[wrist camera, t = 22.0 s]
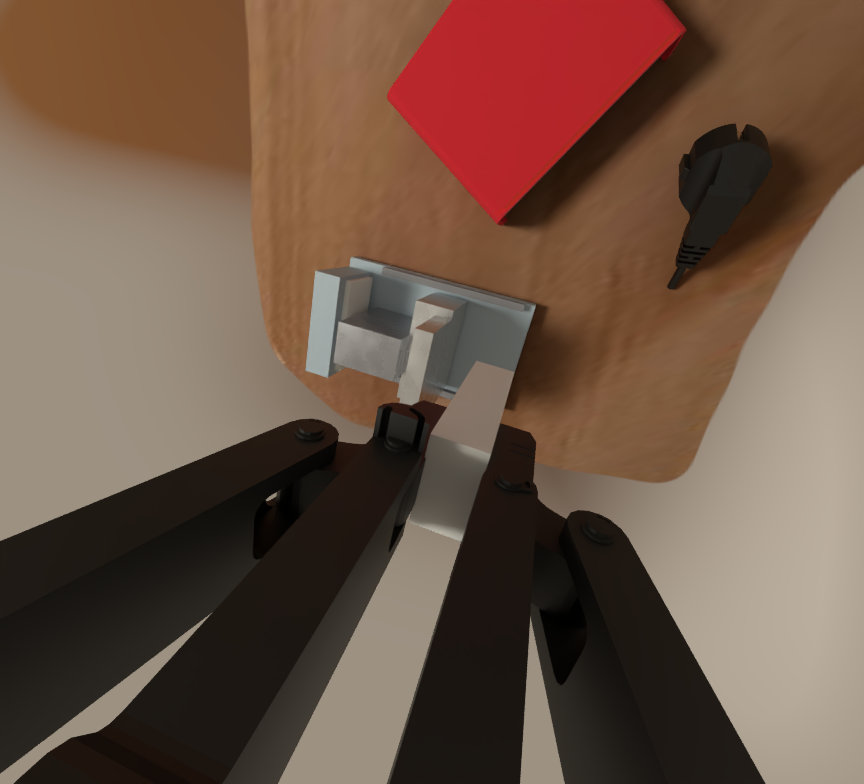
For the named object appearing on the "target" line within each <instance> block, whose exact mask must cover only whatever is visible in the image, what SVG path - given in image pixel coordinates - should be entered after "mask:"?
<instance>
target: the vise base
mask: <svg viewBox="0 0 864 784" xmlns="http://www.w3.org/2000/svg"><path fill="white" fill-rule="evenodd" d="M434 292H436V293H440V294H444V295H448V296H451V297H455V298H459V299H462V300H466V301H468V302H467V306H466V310H465V314H464V318H463V322H462V326H461V330H460V334H459V338H458V342H457V346H456V350H455V354H454V358H453V362H452V366H451V370H450V374H449V378H448V382H447V385H446V387H445V389H444V390H443V391H442V393H441V394H440V396H441V397H444V398H447V399H451V400H452V399H453V397H454V396H455V394H456V392H457V391H458V389H459V388H460V386H461V385H462V383H463V381H464V380H465V378H466V377H467V375H468V373H469V372H470V370H471V369H472V367H473V366H474V364H475V362H476V361H479V362H482V363H486V364H489V365H493V366H496V367H499V368H503V369H506V370H510V371H513V372H514V373H515V370H516V367H517V363H518V360H519V357H520V354H521V351H522V348H523V345H524V342H525V338H526V335H527V332H528V329H529V326H530V323H531V320H532V316H533V313H534V310H535V307H536V304H535V303H531V302H527V301H523V300H520V299H516V298H512V297H508V296H505V295H501V294H497V293H493V292H489V291H486V290H482V289H478V288H474V287H470V286H467V285H463V284H459V283H455V282H452V281H448V280H444V279H440V278H436V277H433V276H429V275H425V274H421V273H418V272H414V271H410V270H406V269H402V268H399V267H395V266H391V265H387V264H383V263H380V262H376V261H372V260H368V259H365V258H361V257H351V260H350V267H342V268H334V269H326V270H318V271H315V281H314V291H313V301H312V311H311V322H310V332H309V342H308V352H307V362H306V371H309V372H312V373H315V374H318V375H321V376H324V377H327V378H328V377H330V376H331V375H333V374H335V373H336V372H339V371H341V370H343V369H344V368H346V367H345V366H342V365H338V364H335V363H334V355H335V347H336V339H337V331H338V323H339V321H341V320H344V319H347V318H349V317H352V316H355V315H357V314H360V313H363V312H365V311H368V310H371V309H373V308H376V307H380V308H384V309H387V310H391V311H394V312H398V313H401V314H405V315H408V316H412V317H413V314H414V309H415V304H416V300H418V299H421V298H423V297H425V296H427V295H430V294H432V293H434ZM400 379H401V375H400V376H399V377H398V378H397V379H396V380H395V381H394V382H397V383H400Z"/></svg>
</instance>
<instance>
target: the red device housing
mask: <svg viewBox="0 0 864 784" xmlns="http://www.w3.org/2000/svg"><path fill="white" fill-rule="evenodd" d="M686 31H687V29H686V28H685V27H684V25H683V24H682V23H681V22H680V21H679V19H678V18H677V17H676V16H675V14H674V13H673V12H672V11H671V9H670V8H669V7H668V6H667V4H666V3H665V2H664V1H663V0H453V1H452V2H451V3H450V5H449V6H448V8H447V9H446V10H445V12H444V13H443V15H442V16H441V18H440V19H439V20H438V22H437V23H436V25H435V26H434V27H433V29H432V30H431V32H430V33H429V35H428V36H427V37H426V39H425V40H424V42H423V43H422V44H421V46H420V47H419V49H418V50H417V52H416V53H415V54H414V56H413V57H412V59H411V60H410V61H409V63H408V64H407V66H406V67H405V69H404V70H403V71H402V73H401V74H400V76H399V77H398V78H397V80H396V81H395V83H394V84H393V86H392V87H391V88H390V90H389V92H388V95H387V99H388V101H389V102H390V103H391V104H392V105H393V106H394V108H395V109H396V110H397V111H398V112H399V113H400V114H401V116H402V117H403V118H404V119H405V120H406V121H407V122H408V123H409V125H410V126H411V127H412V128H413V129H414V130H415V131H416V133H417V134H418V135H419V136H420V137H421V138H422V139H423V141H424V142H425V143H426V144H427V145H428V146H429V147H430V148H431V150H432V151H433V152H434V153H435V154H436V155H437V156H438V158H439V159H440V160H441V161H442V162H443V163H444V164H445V166H446V167H447V168H448V169H449V170H450V171H451V172H452V173H453V175H454V176H455V177H456V178H457V179H458V180H459V181H460V183H461V184H462V185H463V186H464V187H465V188H466V189H467V190H468V192H469V193H470V194H471V195H472V196H473V197H474V198H475V200H476V201H477V202H478V203H479V204H480V205H481V206H482V208H483V209H484V210H485V211H486V212H487V213H488V214H489V215H490V217H491V218H492V219H493V220H494V221H495V222H496V223H497V224H498V225H501V226H502V225H503V224H504V223H505V222H506V221H507V220H508V219H507V218H506V217H505V216H506V215H507V214H508V213H509V212H510V211H511V210H512V209H513V207H514V206H515V205H516V204H517V203H518V202H519V201H520V200H521V199H522V198H523V197H524V196H525V195H526V194H527V193H528V192H529V191H530V190H531V189H532V188H533V187H534V186H535V185H536V184H537V183H538V182H539V181H540V180H541V179H542V178H543V177H544V176H545V175H546V174H547V173H548V172H549V171H550V170H551V169H552V168H553V167H554V166H555V164H556V163H557V162H558V161H559V160H560V159H561V158H562V157H563V156H564V155H565V154H566V153H567V152H568V151H569V150H570V149H571V148H572V147H573V146H574V145H575V144H576V143H577V142H578V141H579V140H580V139H581V138H582V137H583V136H584V135H585V134H586V133H587V132H588V131H589V130H590V129H591V128H592V127H593V126H594V125H595V124H596V123H597V121H598V120H599V119H600V118H601V117H602V116H603V115H604V114H605V113H606V112H607V111H608V110H609V109H610V108H611V107H612V106H613V105H614V104H615V103H616V102H617V101H618V100H619V99H620V98H621V97H622V96H623V95H624V94H625V93H626V92H627V91H628V90H629V89H630V88H631V87H632V86H633V85H634V84H635V83H636V82H637V81H638V80H639V78H640V77H641V76H642V75H643V74H644V73H645V72H646V71H647V70H648V69H649V68H650V67H651V66H652V65H653V64H654V63H655V62H656V61H657V60H658V59H659V58H660V57H661V59H662V60H663V61H665V60H666V59H667V58H668V57H669V56H670V55H671V54H672V52H673V51H674V49H675V48H676V46H677V45H678V43H679V42H680V40H681V38H682V37H683V35H684V34H685V32H686Z"/></svg>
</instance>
